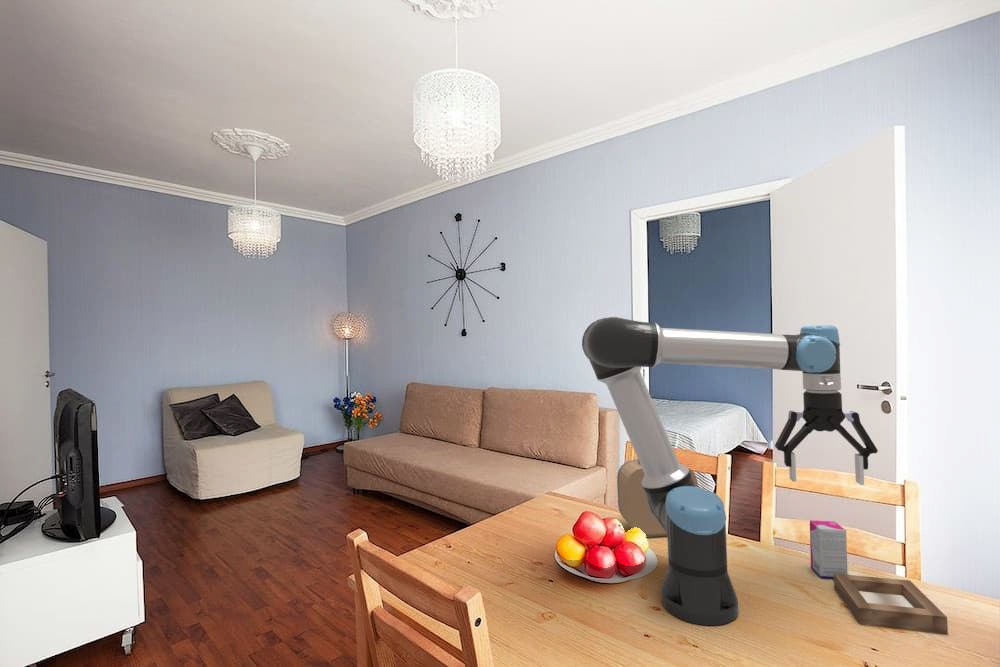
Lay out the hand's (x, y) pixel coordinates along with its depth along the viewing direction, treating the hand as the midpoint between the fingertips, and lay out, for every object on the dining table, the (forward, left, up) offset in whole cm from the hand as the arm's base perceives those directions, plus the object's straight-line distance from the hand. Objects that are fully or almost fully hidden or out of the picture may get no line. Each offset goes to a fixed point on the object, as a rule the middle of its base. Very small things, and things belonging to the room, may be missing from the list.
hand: (825, 481), depth 115 cm
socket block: (+6, -14, -22) cm, 26 cm away
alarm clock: (-38, +18, -22) cm, 47 cm away
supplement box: (0, 0, -22) cm, 22 cm away
